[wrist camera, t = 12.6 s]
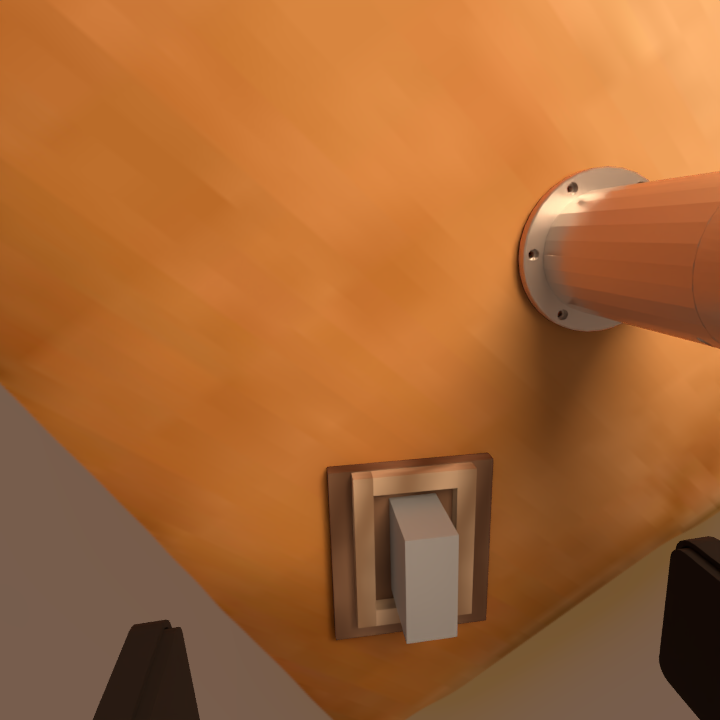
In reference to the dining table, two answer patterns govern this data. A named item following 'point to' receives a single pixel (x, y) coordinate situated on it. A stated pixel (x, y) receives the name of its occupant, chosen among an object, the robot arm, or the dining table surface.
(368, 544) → the jig
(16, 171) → the dining table surface
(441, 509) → the grey rectangular block
